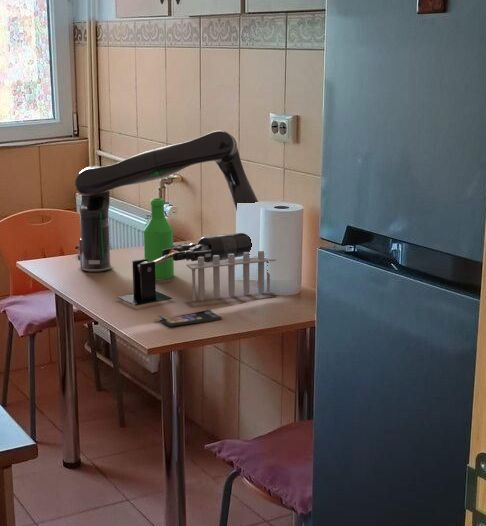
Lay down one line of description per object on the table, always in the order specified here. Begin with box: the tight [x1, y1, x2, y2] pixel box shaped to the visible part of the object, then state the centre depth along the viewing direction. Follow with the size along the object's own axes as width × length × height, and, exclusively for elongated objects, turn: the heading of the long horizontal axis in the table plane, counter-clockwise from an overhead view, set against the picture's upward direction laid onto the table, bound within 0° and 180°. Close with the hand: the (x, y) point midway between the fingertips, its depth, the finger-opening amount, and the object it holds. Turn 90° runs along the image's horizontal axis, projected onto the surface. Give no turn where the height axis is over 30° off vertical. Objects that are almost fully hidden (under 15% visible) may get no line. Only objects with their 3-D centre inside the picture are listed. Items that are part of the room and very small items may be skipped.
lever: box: [137, 249, 178, 273], centre depth 261 cm, size 13×5×2 cm, turn 119°
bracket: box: [117, 257, 173, 307], centre depth 260 cm, size 12×10×12 cm
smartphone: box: [157, 309, 222, 327], centre depth 243 cm, size 8×15×1 cm, turn 113°
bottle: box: [143, 197, 175, 281], centre depth 281 cm, size 9×9×25 cm
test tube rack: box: [186, 251, 277, 302], centre depth 258 cm, size 25×4×13 cm, turn 104°
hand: (168, 255), depth 262 cm, fingers closed on lever, 5 cm apart
